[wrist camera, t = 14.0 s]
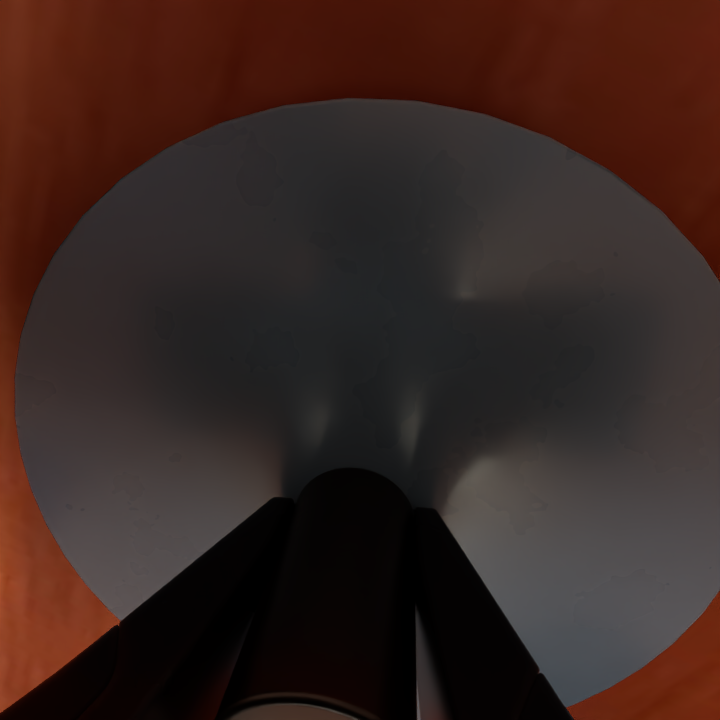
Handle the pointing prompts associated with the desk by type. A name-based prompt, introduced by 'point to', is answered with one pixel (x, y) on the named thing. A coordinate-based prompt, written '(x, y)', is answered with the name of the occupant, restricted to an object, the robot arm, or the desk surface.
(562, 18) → the desk surface
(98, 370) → the lid
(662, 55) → the desk surface
